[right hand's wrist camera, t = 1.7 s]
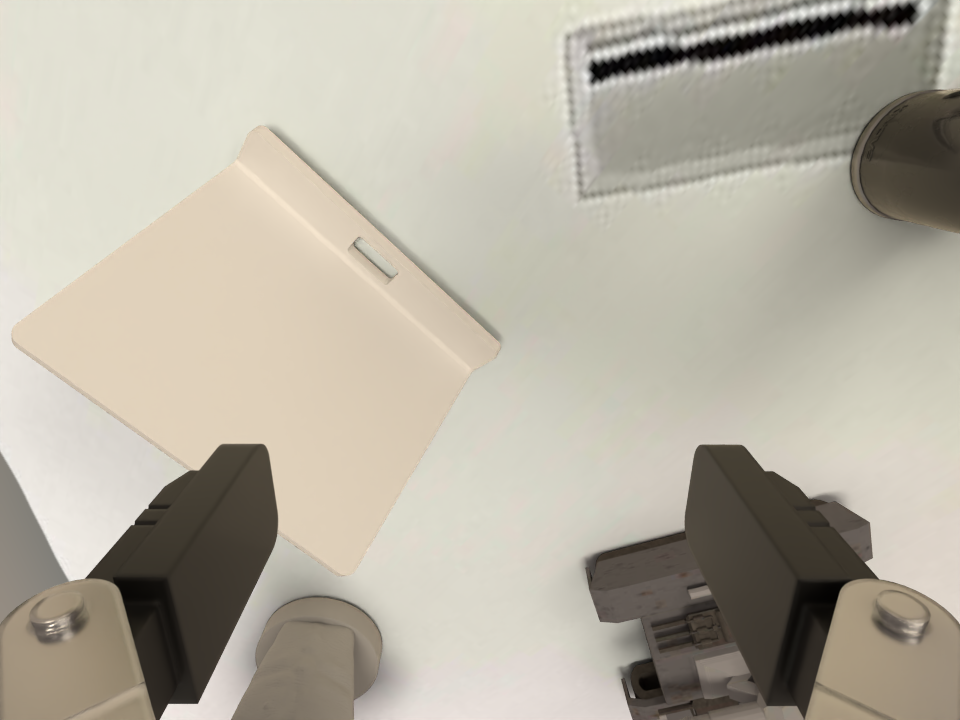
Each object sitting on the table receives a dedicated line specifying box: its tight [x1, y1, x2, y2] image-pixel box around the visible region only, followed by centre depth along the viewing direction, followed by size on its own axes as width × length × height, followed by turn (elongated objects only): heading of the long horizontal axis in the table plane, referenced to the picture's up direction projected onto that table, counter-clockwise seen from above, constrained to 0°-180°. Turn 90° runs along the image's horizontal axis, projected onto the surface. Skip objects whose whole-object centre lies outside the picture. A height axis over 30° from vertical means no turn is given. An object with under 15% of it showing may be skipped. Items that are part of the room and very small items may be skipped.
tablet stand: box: [12, 126, 501, 576], centre depth 43 cm, size 18×25×17 cm
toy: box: [586, 499, 873, 720], centre depth 55 cm, size 25×20×15 cm
